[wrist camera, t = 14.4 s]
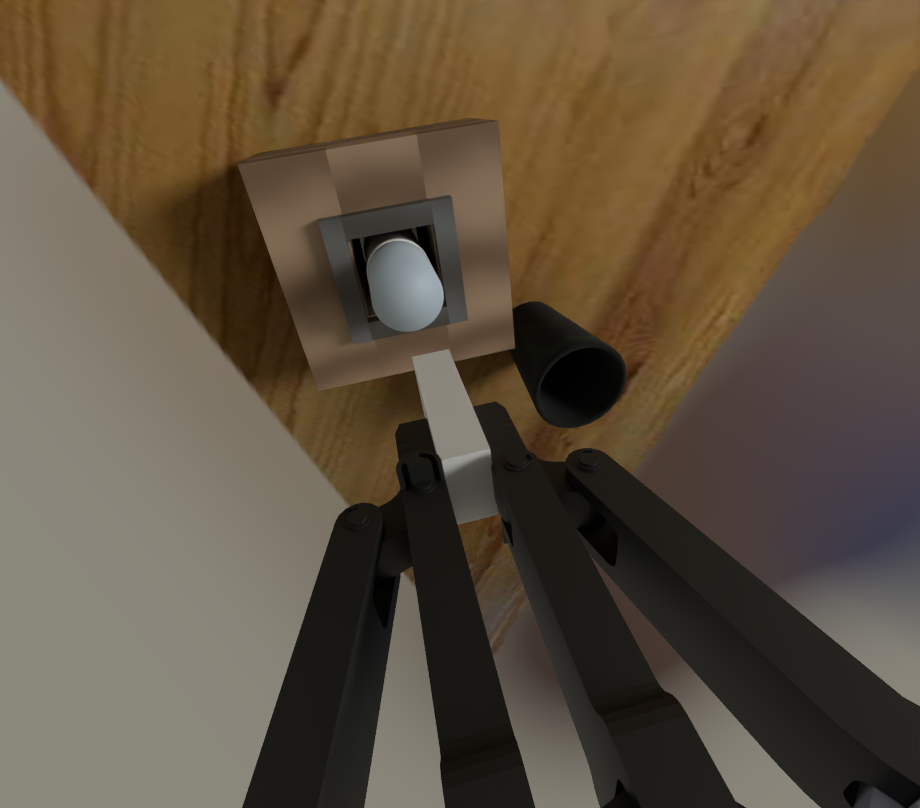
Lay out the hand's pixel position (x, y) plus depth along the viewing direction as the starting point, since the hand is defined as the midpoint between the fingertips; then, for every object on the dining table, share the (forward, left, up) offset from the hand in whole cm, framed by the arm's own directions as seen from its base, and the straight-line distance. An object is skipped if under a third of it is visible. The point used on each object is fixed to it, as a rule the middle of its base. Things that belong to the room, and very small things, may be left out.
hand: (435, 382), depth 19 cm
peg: (0, 0, -23) cm, 23 cm away
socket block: (0, 0, -24) cm, 24 cm away
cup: (+11, +12, -25) cm, 29 cm away
